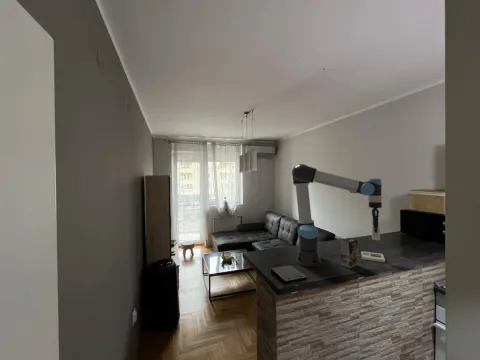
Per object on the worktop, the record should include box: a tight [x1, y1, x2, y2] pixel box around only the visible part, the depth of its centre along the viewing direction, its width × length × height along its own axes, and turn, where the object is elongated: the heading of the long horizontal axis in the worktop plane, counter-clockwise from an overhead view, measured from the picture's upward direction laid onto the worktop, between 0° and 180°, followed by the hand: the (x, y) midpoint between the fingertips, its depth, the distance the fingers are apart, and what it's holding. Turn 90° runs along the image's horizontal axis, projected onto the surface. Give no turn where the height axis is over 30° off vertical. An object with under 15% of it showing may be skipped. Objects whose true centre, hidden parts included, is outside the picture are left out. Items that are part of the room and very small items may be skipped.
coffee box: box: [340, 237, 359, 269], centre depth 139 cm, size 9×6×16 cm
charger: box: [371, 225, 381, 241], centre depth 148 cm, size 4×4×8 cm
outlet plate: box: [360, 251, 386, 263], centre depth 151 cm, size 13×12×2 cm
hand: (375, 236), depth 148 cm, fingers closed on charger, 4 cm apart
